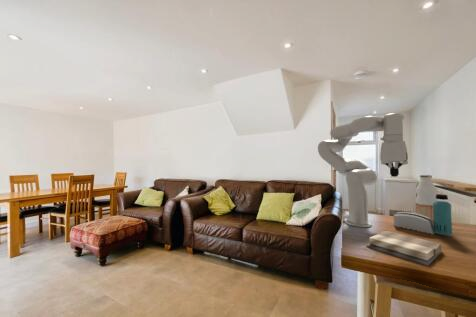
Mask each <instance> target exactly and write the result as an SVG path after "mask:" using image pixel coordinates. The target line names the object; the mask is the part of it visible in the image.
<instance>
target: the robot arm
mask: <svg viewBox="0 0 476 317" xmlns="http://www.w3.org/2000/svg"><path fill="white" fill-rule="evenodd" d="M403 122H404V121H403V114H402V113H401V112H392V113H387V114H385V115H384V116H375V115H374V116H373V115H367V116H363V117H359V118H356V119H354V120H352V121H351V122H349V123H344V124H341V125H336V126H334V127H332V129H331V130H330V132H329V133H330V136H331V138H332V139H324V140H322V141H320V142H319V143H318V145H317V152H318V155H319V156H320V157H321V158H320V159H323V161H325V162H326V163H327V164H329V165H330V166H331V167H332V168H333V169H334V170H335V171H336V172H338V173H339V174H340V175H343V176H344V175H346V176H345V181H346V186H347V193H348V194H347V195H348V196H347V198H348V214H346V213H343V214H342V218H344V219H347V220H345V222H346V224H347V225H349V226H351V227H357V228H369V227H371V226H372V222H370V221H369V214H368V213H369V212H368V211H369V210H368V193H367V190H366V186H372V185H374V184H375V183H376V182H378V181H377V180H378V176H377V174H376V172H375V171H374V170H373V169H372V168H370V167H368V166H367V165H366V164H365V163H364V162H361V161H359V160H356V159H345V158H344V157H343V156H341V155H340V154H338V153H341V152H342V151H344V150H345V149H346V147H347V146H348V144H349V143H350V142H351V140H352V138H353V137H356V136H358V135H359V133H362V132H363V133H364V132H371V131H372V132H383V137H380V141H383V142H381V144H380V145H381V146H380V156H379V159H380V164H381V165H384V166H387V167H388V168H389V175H390V176H391V177H392V178H396V177H398V176H399V175H400V172H399V169H400V167H403V166H405V165H408V164H409V161H408V160H409V156H408V149H407V144H406V140H404V124H403Z"/></svg>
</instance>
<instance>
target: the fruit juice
mask: <svg viewBox="0 0 476 317" xmlns="http://www.w3.org/2000/svg"><path fill="white" fill-rule="evenodd" d="M419 178H420V181H419V182H418V185H417V186H416V187H415V194H416V196H415V213H416V214H420V215H423V216H426V217H429V218H431V220H432V222H433V221H434V220H433V219H434V214H433V203H434V202H435V201H439V199H436V194H438V192H439V190H438V189H437V188H436V186H435V185H434V182H433V180H432V179H433V175H431V174H420V175H419ZM433 225H434V223H433Z"/></svg>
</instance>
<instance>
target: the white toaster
mask: <svg viewBox="0 0 476 317" xmlns="http://www.w3.org/2000/svg"><path fill="white" fill-rule="evenodd" d="M393 226H394V227H396V228H401V227H402V228H401V229H406V228H407V229H406V230H410V229H412V230H411V231H415V230H417V231H416V232H420V231H421V232H422V233H425V232H426V234H429V233H430V235H435V232H434V226H433V222H432V220H431V218H429V217H426V216H423V215H420V214H416V212H408V211H405V212H404V211H402V212H401V211H399V212H396V213H395V214H394V216H393Z"/></svg>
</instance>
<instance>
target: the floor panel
mask: <svg viewBox="0 0 476 317" xmlns="http://www.w3.org/2000/svg"><path fill="white" fill-rule="evenodd" d="M377 234H378V235H382V236H386V237H390V238H394V239H398V240H402V241H406V242H410V243H413V244H417V245H421V246H425V247H429V248H433V249H434V256H432V257H431V258H430V259H429V260H424V259H420V258H417V257H414V256H410V255H407V254H403V253H400V252H397V251H393V250H390V249H386V248H383V247H380V246H376V245H373V244H370V243H369V242H368V243H367V244H366V246H365V247H366V248H370V249H372V250H375V251H380V252H382V253H386V254H390V255H392V256H395V257H399V258H402V259H405V260H408V261H411V262H415V263H417V264H421V265H424V266H427V267H428V266H430V264H431V263H433V261H434V260H436V258H437V257H438V256H439V255H441V254H442V243H440V242H436V241H432V240H427V239H423V238H420V237H414V236H410V235H405V234H401V233H398V232H393V231H387V230H381V231H379V232H378V233H376V235H377Z"/></svg>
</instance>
